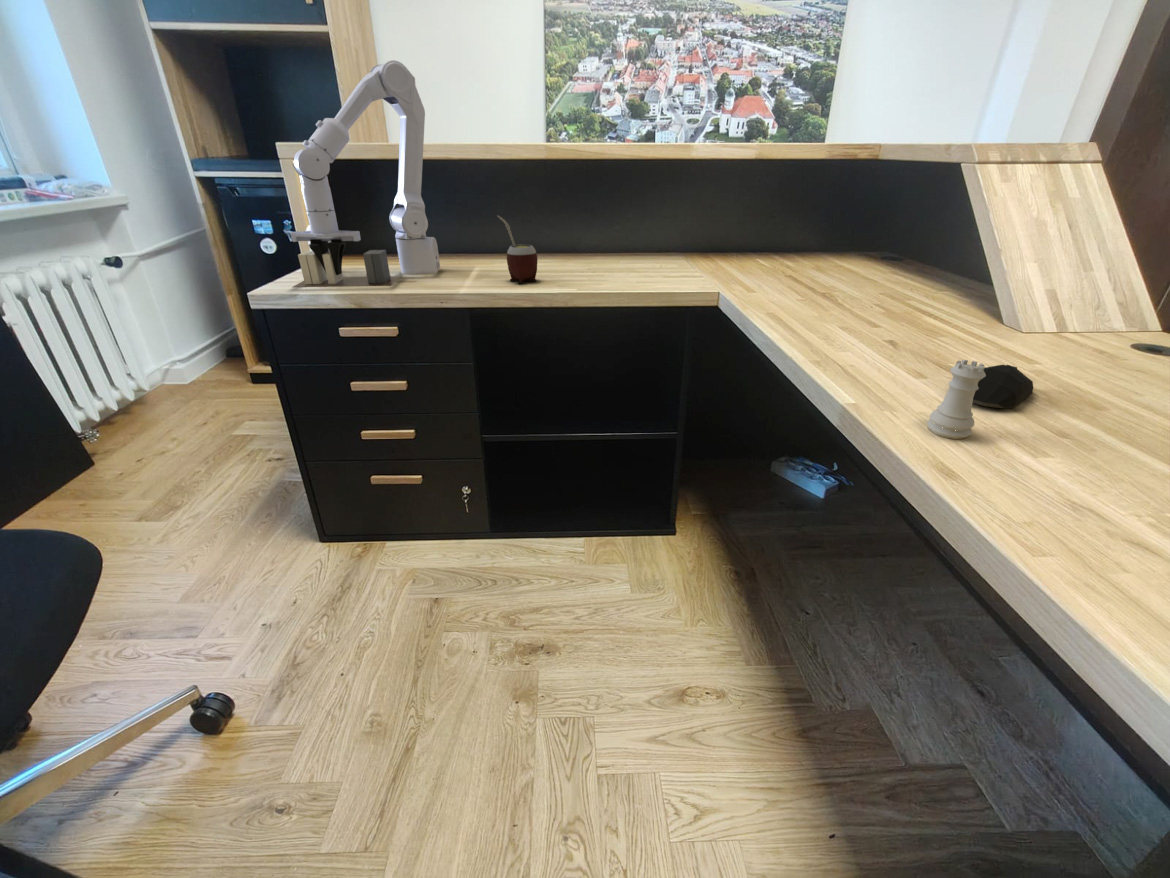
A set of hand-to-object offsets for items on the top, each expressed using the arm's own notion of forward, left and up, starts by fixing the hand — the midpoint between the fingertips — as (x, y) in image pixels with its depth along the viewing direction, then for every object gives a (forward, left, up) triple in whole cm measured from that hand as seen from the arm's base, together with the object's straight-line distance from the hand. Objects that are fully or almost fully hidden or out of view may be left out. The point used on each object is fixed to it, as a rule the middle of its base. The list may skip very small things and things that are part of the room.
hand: (334, 274), depth 128 cm
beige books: (+4, 0, -2) cm, 5 cm away
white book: (0, 0, -2) cm, 2 cm away
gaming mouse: (-109, +68, -3) cm, 129 cm away
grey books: (-10, 0, -2) cm, 10 cm away
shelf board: (-3, 0, -3) cm, 4 cm away
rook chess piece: (-96, +78, -3) cm, 124 cm away
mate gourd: (-43, -1, -3) cm, 43 cm away
